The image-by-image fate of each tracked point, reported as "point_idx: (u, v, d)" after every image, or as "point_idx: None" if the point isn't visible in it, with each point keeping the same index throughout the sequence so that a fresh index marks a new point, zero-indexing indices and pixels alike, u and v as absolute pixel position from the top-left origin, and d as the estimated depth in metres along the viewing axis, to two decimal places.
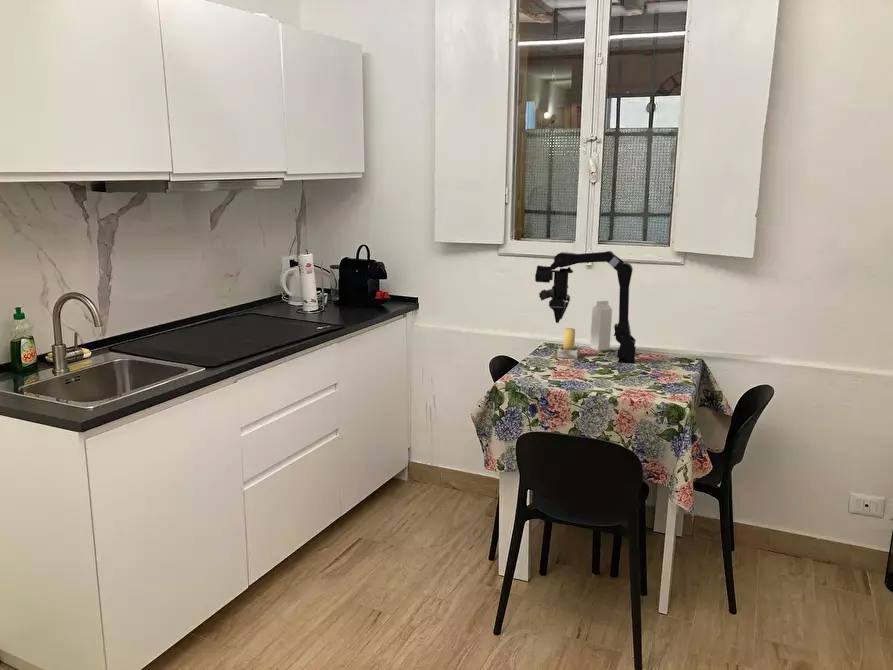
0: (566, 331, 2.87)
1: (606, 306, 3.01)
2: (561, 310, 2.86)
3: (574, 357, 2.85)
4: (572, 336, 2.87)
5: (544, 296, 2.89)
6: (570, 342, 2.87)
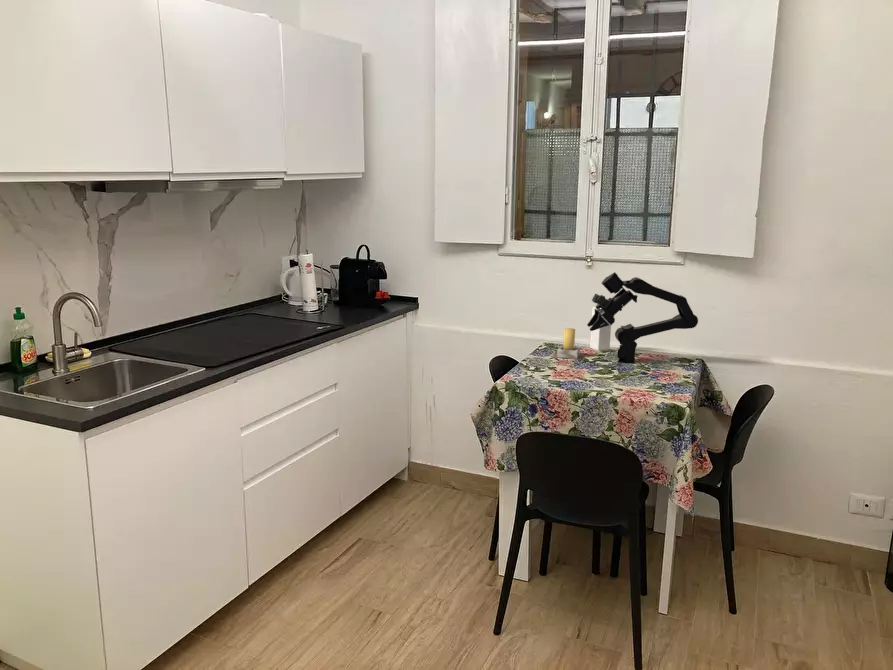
0: (566, 331, 2.87)
1: None
2: (604, 324, 2.80)
3: (574, 357, 2.85)
4: (572, 336, 2.87)
5: (600, 301, 2.80)
6: (570, 342, 2.87)
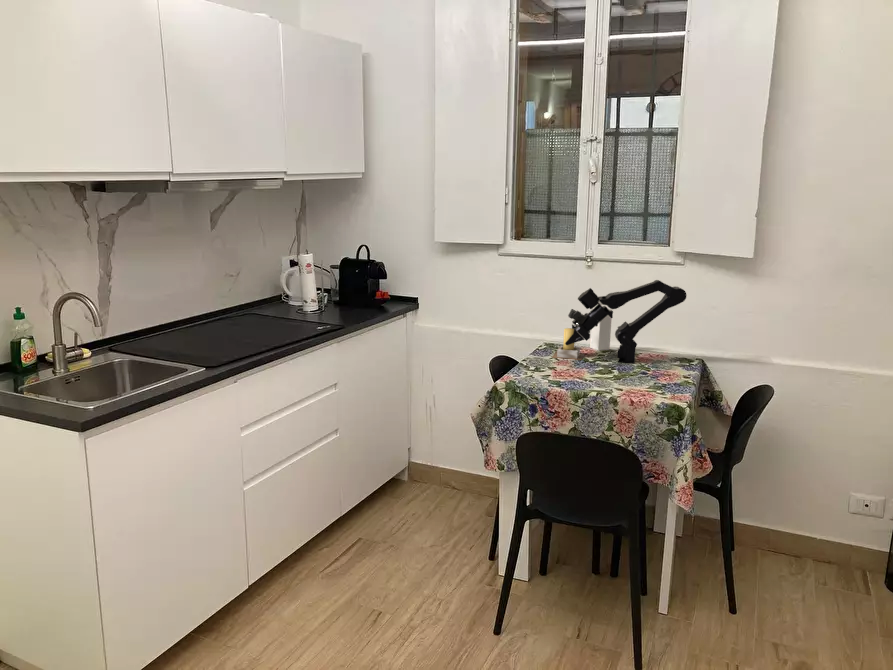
0: (566, 331, 2.87)
1: (606, 306, 3.01)
2: (579, 339, 2.84)
3: (574, 357, 2.85)
4: None
5: (576, 317, 2.82)
6: None
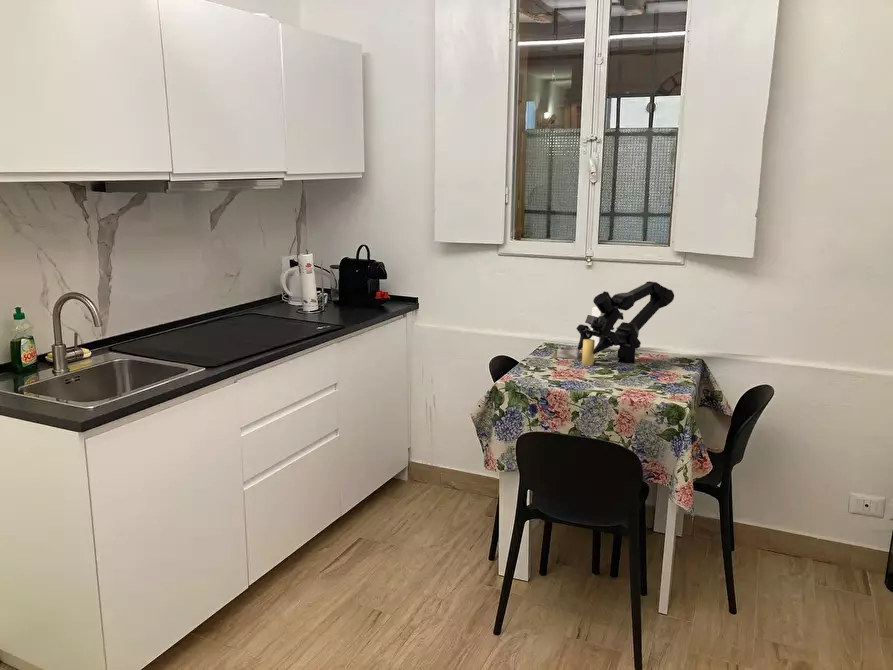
0: (589, 343, 2.72)
1: None
2: (606, 346, 2.72)
3: (574, 357, 2.85)
4: None
5: (601, 323, 2.71)
6: None
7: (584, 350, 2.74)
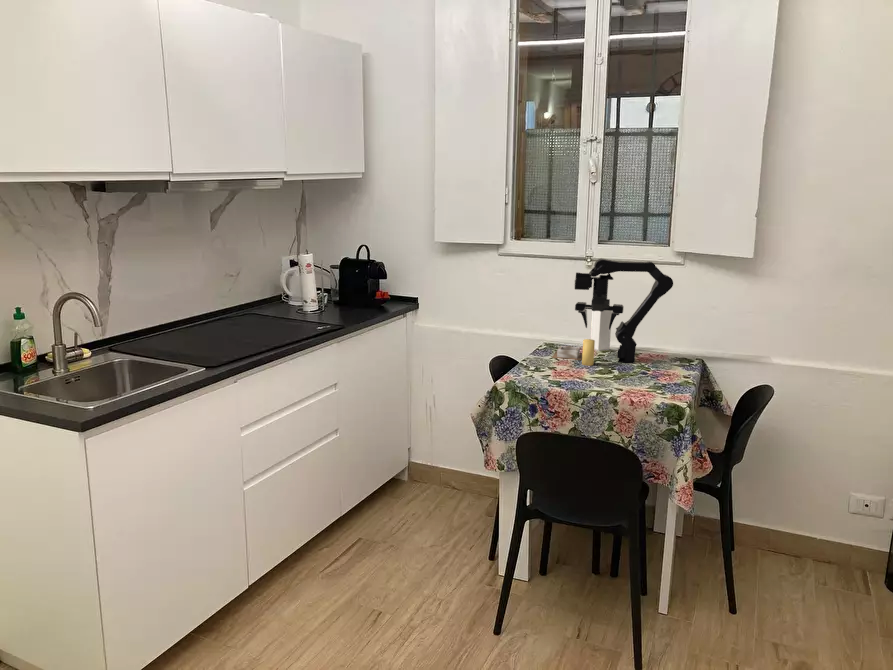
0: (589, 343, 2.72)
1: None
2: None
3: (574, 357, 2.85)
4: None
5: (609, 306, 2.79)
6: (593, 353, 2.74)
7: (584, 350, 2.74)
